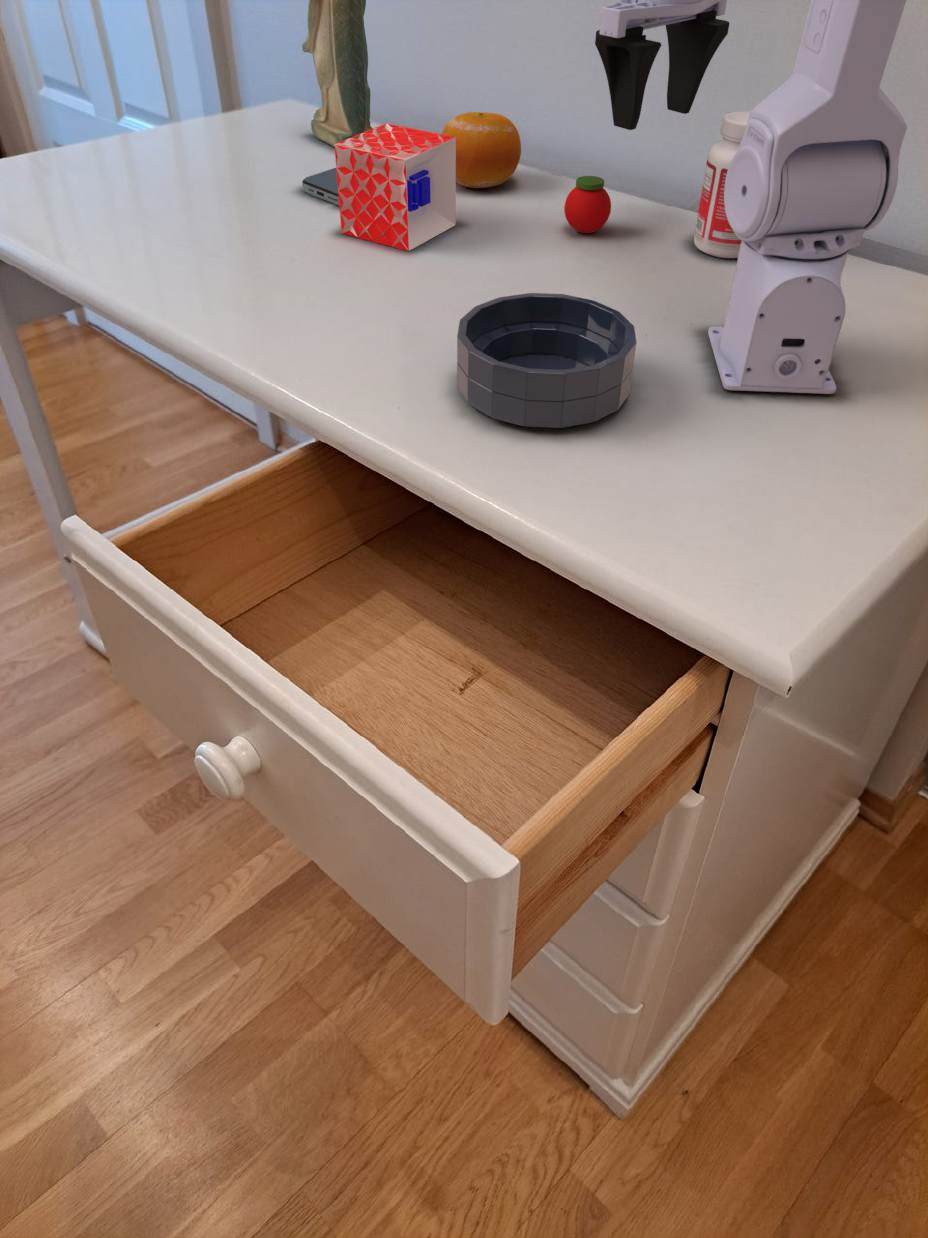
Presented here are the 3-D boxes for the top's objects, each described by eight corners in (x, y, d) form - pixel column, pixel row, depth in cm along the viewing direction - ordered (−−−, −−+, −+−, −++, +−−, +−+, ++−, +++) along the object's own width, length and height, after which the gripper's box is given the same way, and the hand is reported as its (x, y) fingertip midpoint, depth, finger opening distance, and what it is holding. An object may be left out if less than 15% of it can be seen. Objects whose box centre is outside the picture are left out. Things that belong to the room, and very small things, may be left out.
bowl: (632, 437, 62) (642, 376, 59) (451, 430, 62) (451, 369, 59) (622, 352, 71) (629, 295, 68) (464, 346, 71) (464, 290, 68)
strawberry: (609, 240, 87) (615, 188, 84) (562, 239, 88) (566, 187, 84) (607, 223, 91) (612, 172, 87) (562, 222, 91) (566, 171, 88)
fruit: (530, 134, 100) (498, 71, 94) (535, 189, 96) (501, 127, 90) (461, 167, 104) (426, 109, 97) (463, 221, 100) (426, 164, 94)
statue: (346, 126, 114) (327, -134, 97) (387, 142, 110) (375, -128, 92) (299, 137, 111) (271, -131, 94) (340, 153, 106) (319, -125, 89)
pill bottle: (773, 251, 86) (804, 120, 78) (726, 265, 83) (753, 131, 76) (725, 230, 89) (750, 103, 82) (678, 243, 87) (699, 113, 79)
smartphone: (296, 178, 96) (403, 142, 104) (299, 195, 97) (404, 158, 105) (343, 196, 92) (450, 158, 100) (344, 213, 93) (451, 174, 101)
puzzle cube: (390, 208, 93) (386, 122, 88) (455, 224, 90) (455, 136, 85) (341, 233, 88) (333, 144, 83) (408, 251, 85) (405, 159, 80)
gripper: (691, -81, 80) (667, 95, 89) (578, -66, 72) (564, 124, 82) (760, -72, 76) (727, 110, 85) (648, -56, 69) (625, 142, 78)
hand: (651, 118), depth 83 cm, fingers open, 7 cm apart
